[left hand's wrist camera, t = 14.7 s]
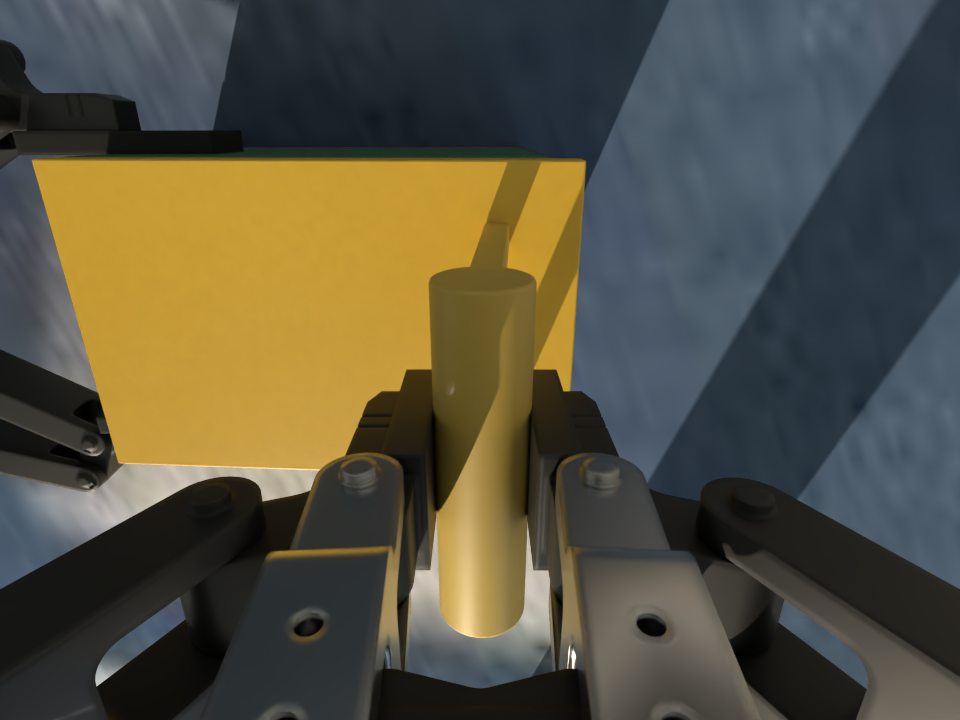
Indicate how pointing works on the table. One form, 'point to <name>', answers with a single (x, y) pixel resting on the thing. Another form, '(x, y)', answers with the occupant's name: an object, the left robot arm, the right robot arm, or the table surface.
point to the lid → (331, 320)
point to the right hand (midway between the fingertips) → (251, 287)
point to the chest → (358, 153)
